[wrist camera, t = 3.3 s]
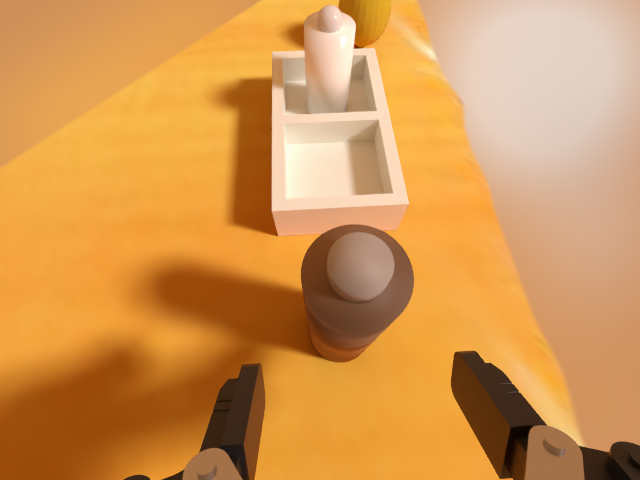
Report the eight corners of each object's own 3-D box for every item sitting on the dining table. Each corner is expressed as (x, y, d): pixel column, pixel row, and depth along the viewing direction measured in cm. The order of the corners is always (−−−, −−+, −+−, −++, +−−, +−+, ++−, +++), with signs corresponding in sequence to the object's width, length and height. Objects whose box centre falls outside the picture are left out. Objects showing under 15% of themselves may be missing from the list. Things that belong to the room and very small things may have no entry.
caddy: (396, 229, 27) (408, 203, 23) (278, 236, 27) (271, 211, 23) (368, 83, 35) (374, 47, 31) (277, 87, 34) (272, 51, 31)
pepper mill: (296, 331, 23) (273, 264, 11) (337, 289, 25) (353, 189, 13) (341, 376, 22) (368, 353, 10) (381, 328, 23) (447, 259, 11)
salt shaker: (297, 105, 31) (291, 7, 23) (325, 85, 32) (328, -15, 25) (328, 127, 30) (332, 30, 22) (355, 105, 31) (369, 6, 23)
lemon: (327, 44, 38) (328, -38, 31) (361, 26, 39) (371, -56, 32) (358, 68, 36) (368, -13, 29) (393, 49, 37) (411, -34, 30)
